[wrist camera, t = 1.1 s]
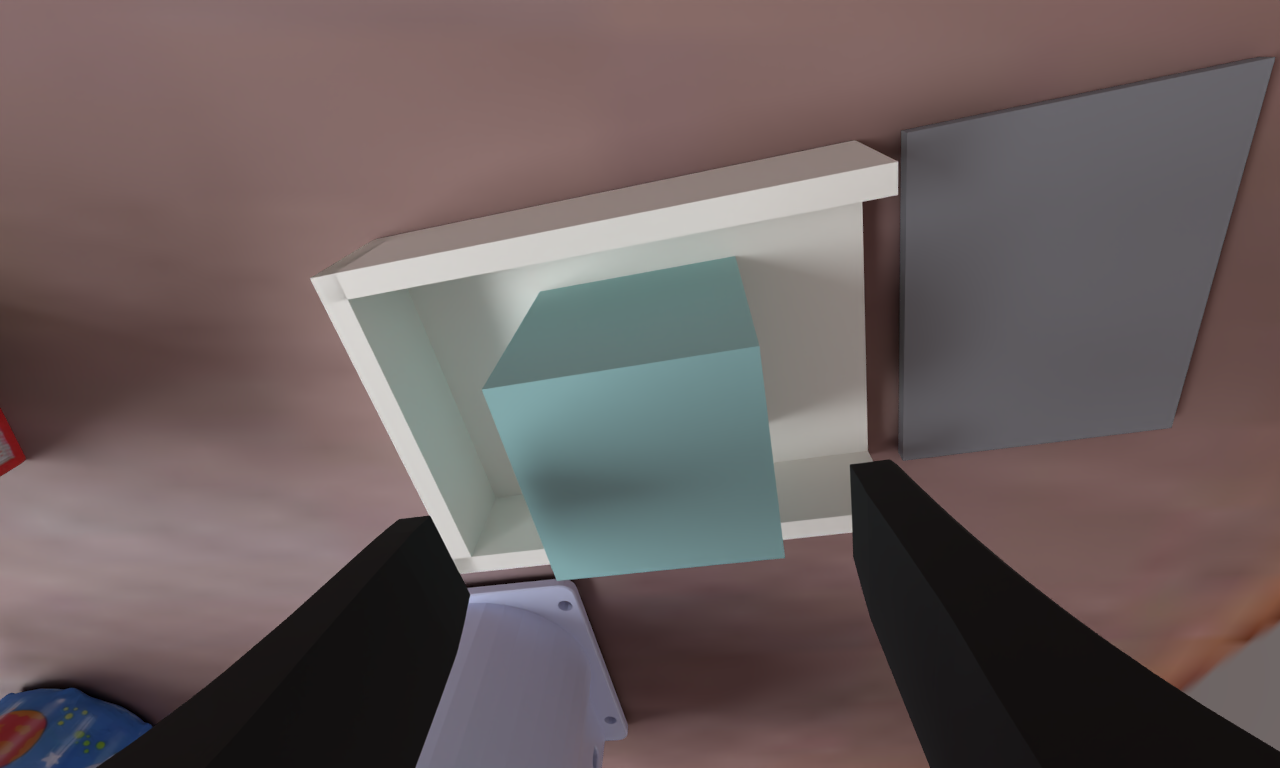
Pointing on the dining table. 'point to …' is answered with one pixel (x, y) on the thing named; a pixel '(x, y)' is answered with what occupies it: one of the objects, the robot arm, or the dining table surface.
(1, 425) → the stack of blocks
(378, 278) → the open box
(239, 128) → the dining table surface
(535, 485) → the teal block
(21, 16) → the dining table surface
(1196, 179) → the charcoal mat
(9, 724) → the snack cup
